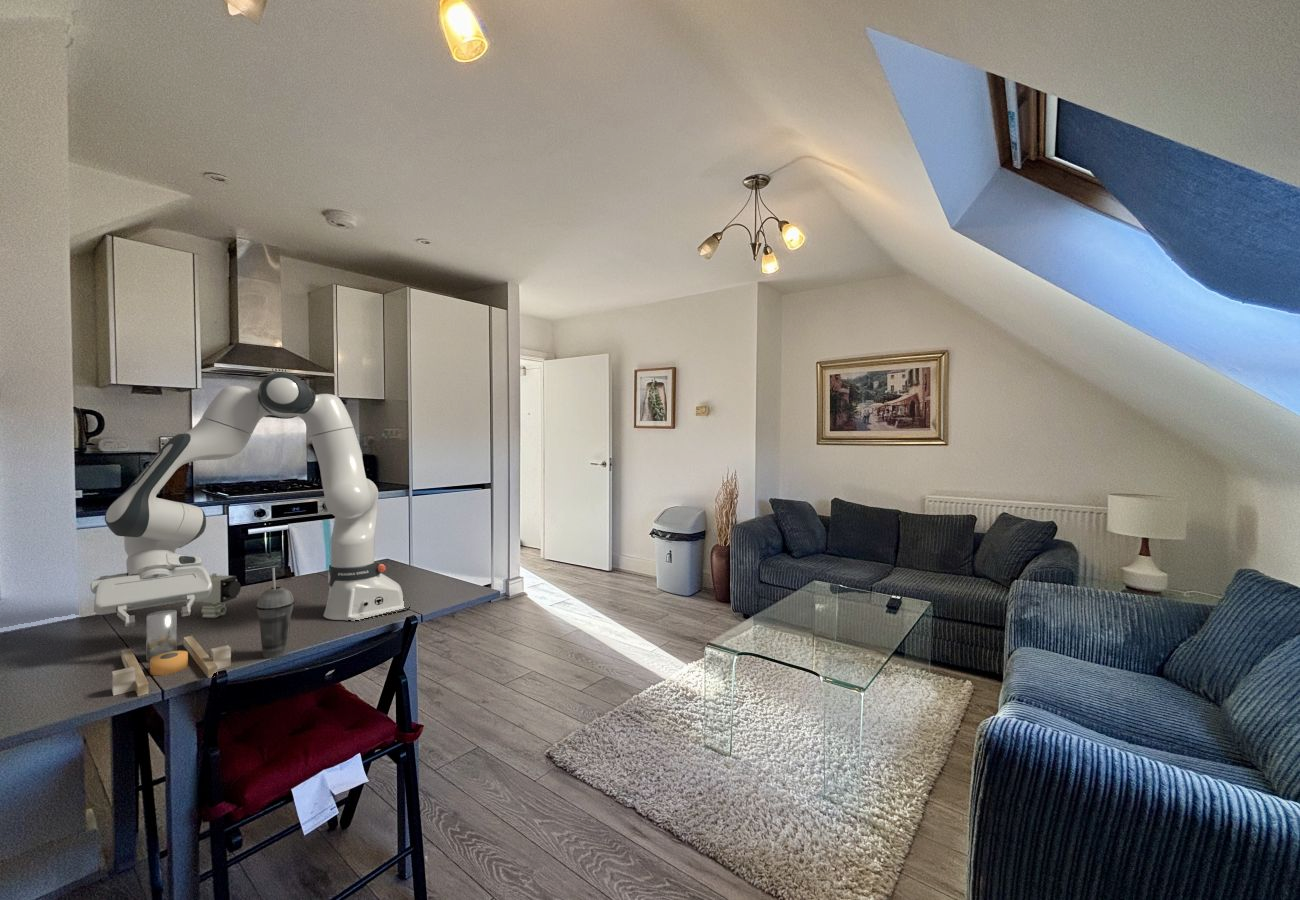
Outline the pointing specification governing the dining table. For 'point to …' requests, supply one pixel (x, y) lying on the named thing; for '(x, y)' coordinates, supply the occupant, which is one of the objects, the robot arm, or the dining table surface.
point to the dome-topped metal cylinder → (161, 633)
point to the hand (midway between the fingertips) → (159, 619)
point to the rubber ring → (168, 663)
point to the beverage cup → (275, 619)
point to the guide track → (137, 681)
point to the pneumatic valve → (219, 595)
